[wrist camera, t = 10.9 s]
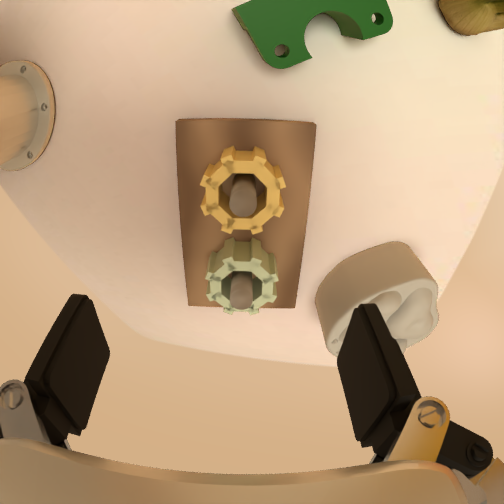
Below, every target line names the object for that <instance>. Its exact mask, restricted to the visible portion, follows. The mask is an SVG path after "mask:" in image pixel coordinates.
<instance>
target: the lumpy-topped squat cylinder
mask: <svg viewBox="0 0 504 504" xmlns="http://www.w3.org/2000/svg"><path fill="white" fill-rule="evenodd" d="M437 296H438V285H437V283H436V281H435V280H434V279H433V277H432V276H431V275H430V273H429V272H428V271H427V269H426V268H425V267H424V265H423V264H422V263H421V261H420V260H419V259H418V258H417V256H416V255H415V254H414V252H413V251H412V250H411V249H410V247H409V246H408V245H406V244H404V243H402V242H388V243H385V244H381V245H378V246H375V247H372V248H369V249H366V250H364V251H362V252H359V253H357V254H355V255H352V256H350V257H348V258H346V259H345V260H343V261H342V262H340V263H339V264H338V265H337V266H336V267H335V268H334V269H333V270H332V271H331V272H330V273H329V274H328V275H327V276H326V277H325V279H324V280H323V281H322V283H321V284H320V286H319V288H318V291H317V293H316V297H315V304H316V308H317V312H318V315H319V319H320V323H321V327H322V331H323V335H324V339H325V343H326V347H327V349H328V351H329V352H330V353H331V354H333V355H334V356H336V357H338V354H339V351H340V349H341V346H342V343H343V340H344V337H345V334H346V331H347V328H348V325H349V322H350V319H351V316H352V313H353V310H354V308H358V306H359V305H360V304H367V303H375V304H376V305H377V306H378V308H379V310H380V312H381V314H382V316H383V319H384V321H385V323H386V325H387V327H388V329H389V331H390V333H391V336H392V338H394V339H396V341H397V342H398V344H399V347H400V349H401V351H402V353H403V354H404V352H405V350H406V348H408V347H410V346H412V345H414V344H416V343H418V342H420V341H422V340H423V339H425V338H426V337H428V336H429V335H430V334H431V332H432V331H433V330H434V329H435V327H436V326H437V324H438V320H439V315H438V310H437Z"/></svg>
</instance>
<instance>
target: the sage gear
mask: <svg viewBox="0 0 504 504" xmlns="http://www.w3.org/2000/svg"><path fill="white" fill-rule="evenodd" d="M232 271H251V272H252V273H253V274H255V275H256V276H257V277H255V278H254V279H253V280H252V290H253V303H252V305H251V306H250V307H249V308H247V309H244V310H239V309H236V308H234V307H233V306H232V305H231V304H230V291H231V278H230V277H229V276H227V275H228V274H230V273H231V272H232ZM205 279H206V280H208V286H207V291H206V296H207V297H208V299H209V301H213V300H215V301H216V302H218V303H219V304H220V305H222V306H223V307H224V312H225V313H228V314H231V315H232V314H233V312H234V311H240V312H249V314H250V315H253V314H256V313H259V308H260V307H261V306H263V305H264V304H265V303H267V302H271V303H273V302H274V301H275V299H276V297H277V290H276V282H277V281H279V279H278V271H277V264H276V259H275V256H274V254H273V253H270V254H268V253H267V252H265V251H264V250H263V249H262V248H261V241H260V240H257V239H255V238H252V239H251V241H250V242H239V241H235V239H234V237H233V238H230V239H227V240H225V243H224V247H223V248H222V249H221V250H220V251H219V252H217V253H216V252H213V251H212V253H211V255H210V257H209V261H208V266H207V271H206V276H205Z"/></svg>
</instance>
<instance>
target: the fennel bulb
mask: <svg viewBox="0 0 504 504" xmlns="http://www.w3.org/2000/svg"><path fill="white" fill-rule="evenodd" d="M438 4H439V8H440V9H441V11H442V13H443V16H444V17H445V19H446V21H447V23H448V24H449V25H450V26H451V27H452V28H453V29H454V30H455V31H456V32H458V33H460V34H462V35H465V36H470V35H477V34H479V33H482V32H488V31H493V30H498V29H503V28H504V0H439V1H438Z"/></svg>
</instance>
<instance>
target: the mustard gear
mask: <svg viewBox="0 0 504 504" xmlns="http://www.w3.org/2000/svg"><path fill="white" fill-rule="evenodd" d="M232 173H250V174H254V175H255V176H256V177H257V178H258V179H259V180H260V181H261V182H262V183H263V184H264V185H265V189H264V192H263V193H262V194H261V195H259V196H258V197H257V207H256V210H255V212H254V213H253V214H251V215H250V216H247V217H239V216H237V215H235V214H234V213H233V212H232V211H231V209H230V206H229V202H230V197H229V196H228V195H227V194H226V193H224V192H223V191H222V183H223V182H224V181H225V180H226V179H227V178H228V177H229V176H230V175H231V174H232ZM200 185H201V186H203V187H206V193H205V195H204V198H203V201H202V203H201V206H200V207H201V209H202V211H203V213H204V215H205V216H206V215H209V214H211V215H212V216H213V217H214V218H216V219H217V220H218V221H219V222H220V223H221V224H222V227H221V231H224V232H226V233H229V234H231V233H232V231H233V229H242V230H251V232H252V234H256V233H259V232H262V231H263V226H262V225H263V224H264V223H265V222H267V221H268V220H269V219H270V218H271V217H273V216H277V217H279V218H280V216H281V214H282V212H283V210H284V204H283V201H282V197H281V193H280V189H282V188H285V187H286V185H285V182H284V179H283V176H282V173H281V170H280V168H279V165H276V166H274V167H273V166H272V165H271V164H270V163H269V162H268V161H267V160H266V155H265V150H263V149H261V148H258V147H256V146H255V147H254V149H253V151H236V150H235V147H234V146H231V147H228V148H226V149H224V150H223V153H222V156H221V158H220V161H219V162H218V163H216V164H215V165H212V164H210V163H209V165H208V167H207V169H206V171H205V173H204V176H203V178H202V180H201V183H200Z"/></svg>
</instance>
